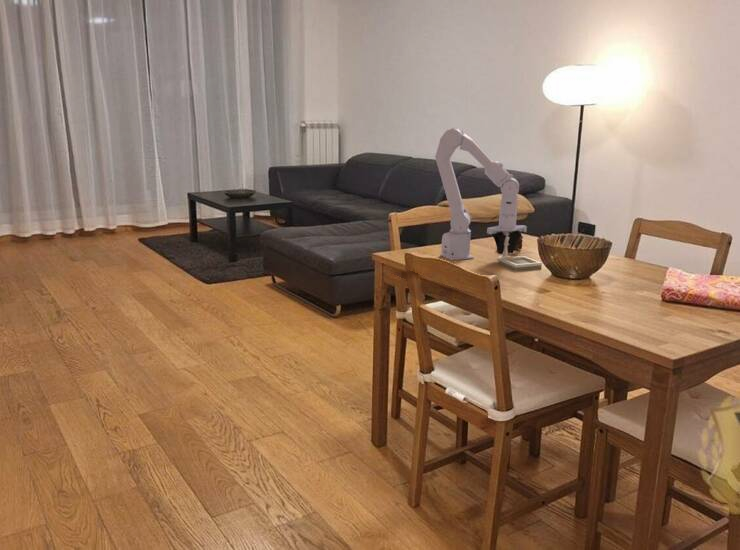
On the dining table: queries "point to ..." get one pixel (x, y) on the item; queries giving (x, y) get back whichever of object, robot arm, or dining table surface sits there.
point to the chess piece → (505, 247)
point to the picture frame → (520, 263)
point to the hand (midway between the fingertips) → (505, 253)
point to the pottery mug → (518, 245)
